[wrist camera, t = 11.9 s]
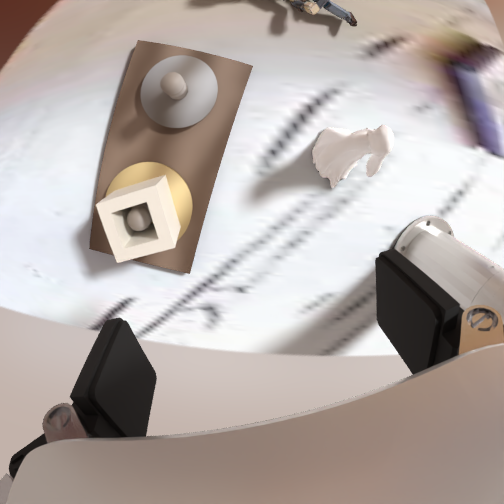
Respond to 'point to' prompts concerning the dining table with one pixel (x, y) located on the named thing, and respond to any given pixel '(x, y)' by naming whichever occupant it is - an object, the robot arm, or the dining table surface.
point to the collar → (155, 235)
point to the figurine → (350, 151)
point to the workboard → (170, 139)
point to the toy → (313, 8)
